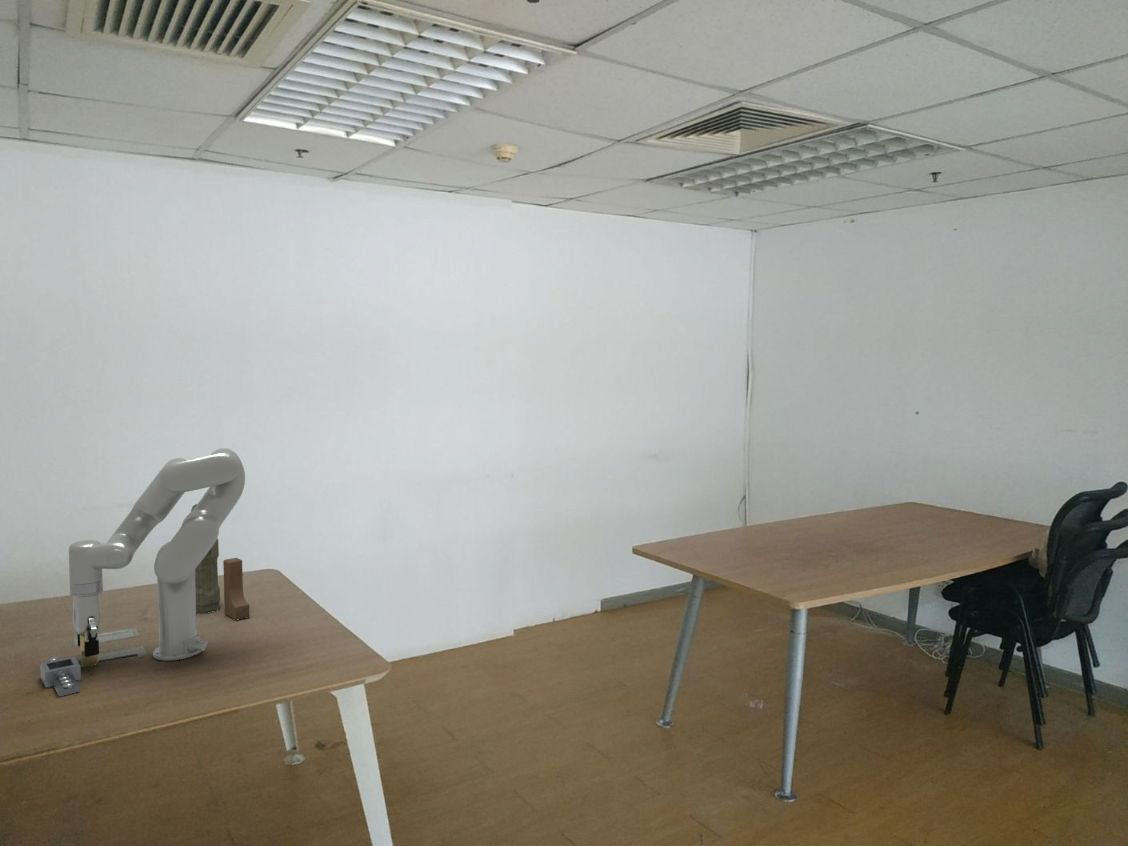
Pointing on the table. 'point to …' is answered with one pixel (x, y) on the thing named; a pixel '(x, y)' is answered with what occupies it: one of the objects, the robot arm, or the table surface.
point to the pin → (84, 660)
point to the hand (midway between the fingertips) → (88, 650)
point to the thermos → (207, 581)
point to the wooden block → (234, 589)
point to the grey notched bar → (61, 675)
